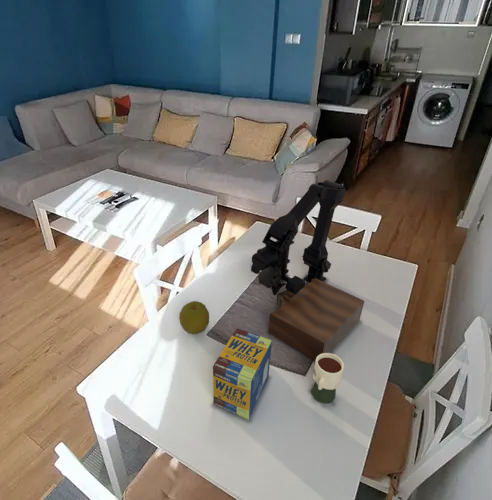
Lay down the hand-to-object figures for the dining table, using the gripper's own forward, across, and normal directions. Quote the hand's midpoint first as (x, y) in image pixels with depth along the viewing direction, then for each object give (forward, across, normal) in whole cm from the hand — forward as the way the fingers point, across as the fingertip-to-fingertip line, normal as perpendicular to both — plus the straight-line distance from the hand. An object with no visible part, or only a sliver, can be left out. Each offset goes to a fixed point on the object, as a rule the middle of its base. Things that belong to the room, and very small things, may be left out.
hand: (275, 294), depth 134 cm
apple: (+5, -12, -27) cm, 30 cm away
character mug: (+5, +32, -21) cm, 39 cm away
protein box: (+5, +15, -35) cm, 39 cm away
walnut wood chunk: (+4, +16, 0) cm, 17 cm away
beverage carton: (+5, +11, 0) cm, 12 cm away
